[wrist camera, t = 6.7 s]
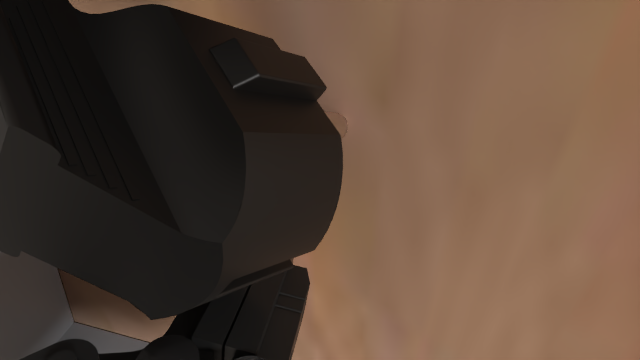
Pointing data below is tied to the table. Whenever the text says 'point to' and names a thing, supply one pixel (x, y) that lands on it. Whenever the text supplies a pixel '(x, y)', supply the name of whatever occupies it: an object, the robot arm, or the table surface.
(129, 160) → the power plug
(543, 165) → the table surface
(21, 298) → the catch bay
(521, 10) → the table surface
